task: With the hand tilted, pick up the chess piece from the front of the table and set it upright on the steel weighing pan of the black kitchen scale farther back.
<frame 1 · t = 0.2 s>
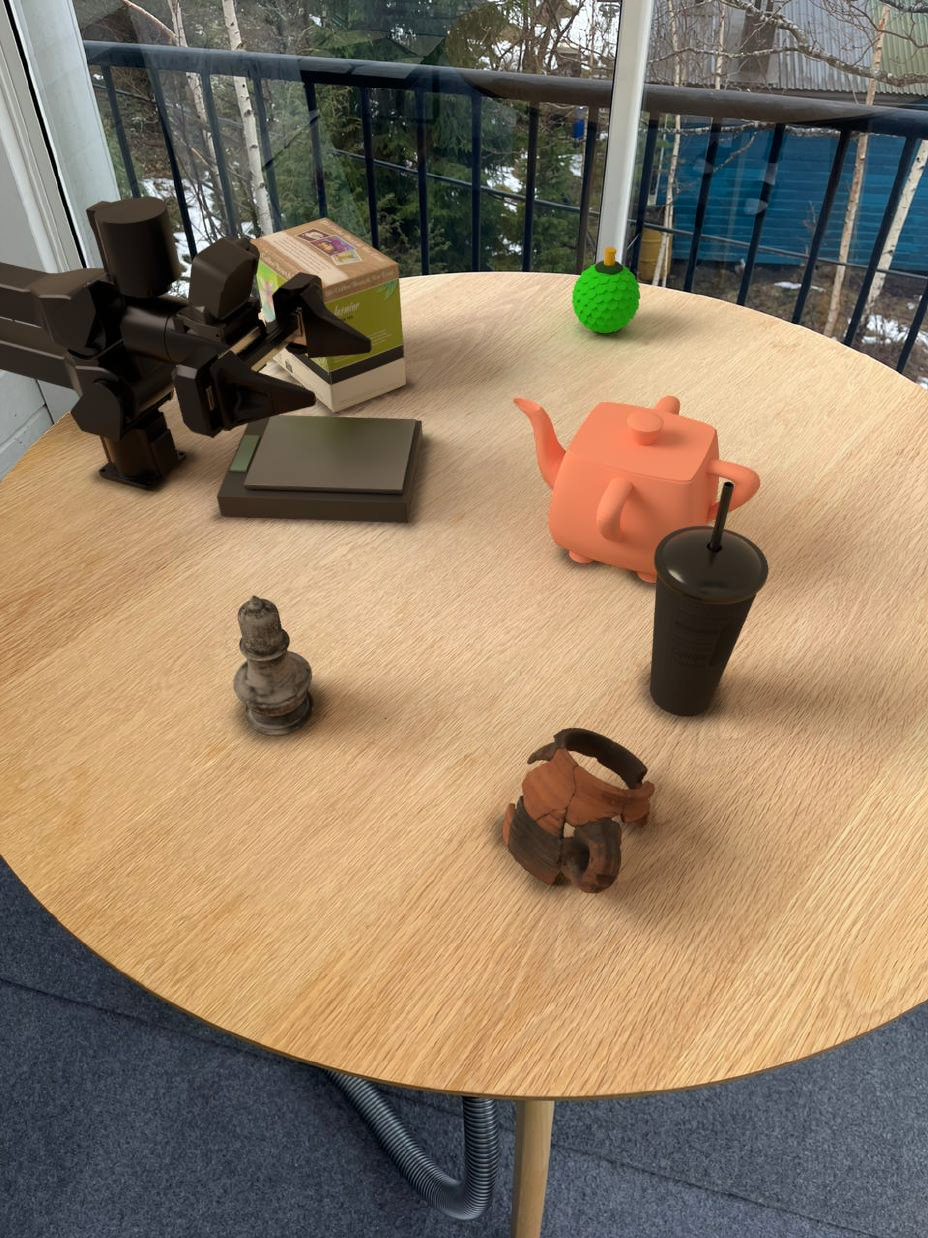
hand: (343, 371, 77), 17 cm above the table, tool horizontal, fingers open, 9 cm apart
pottery mug: (577, 843, 64), on the table
drinking cup: (680, 694, 74), on the table
chess piece: (280, 710, 73), on the table
scale: (326, 476, 94), on the table
tea box: (337, 375, 109), on the table
teapot: (619, 541, 87), on the table
scale pan: (333, 452, 92), point 3 cm above the table, slide at 0.0 cm
ornament: (602, 331, 116), on the table
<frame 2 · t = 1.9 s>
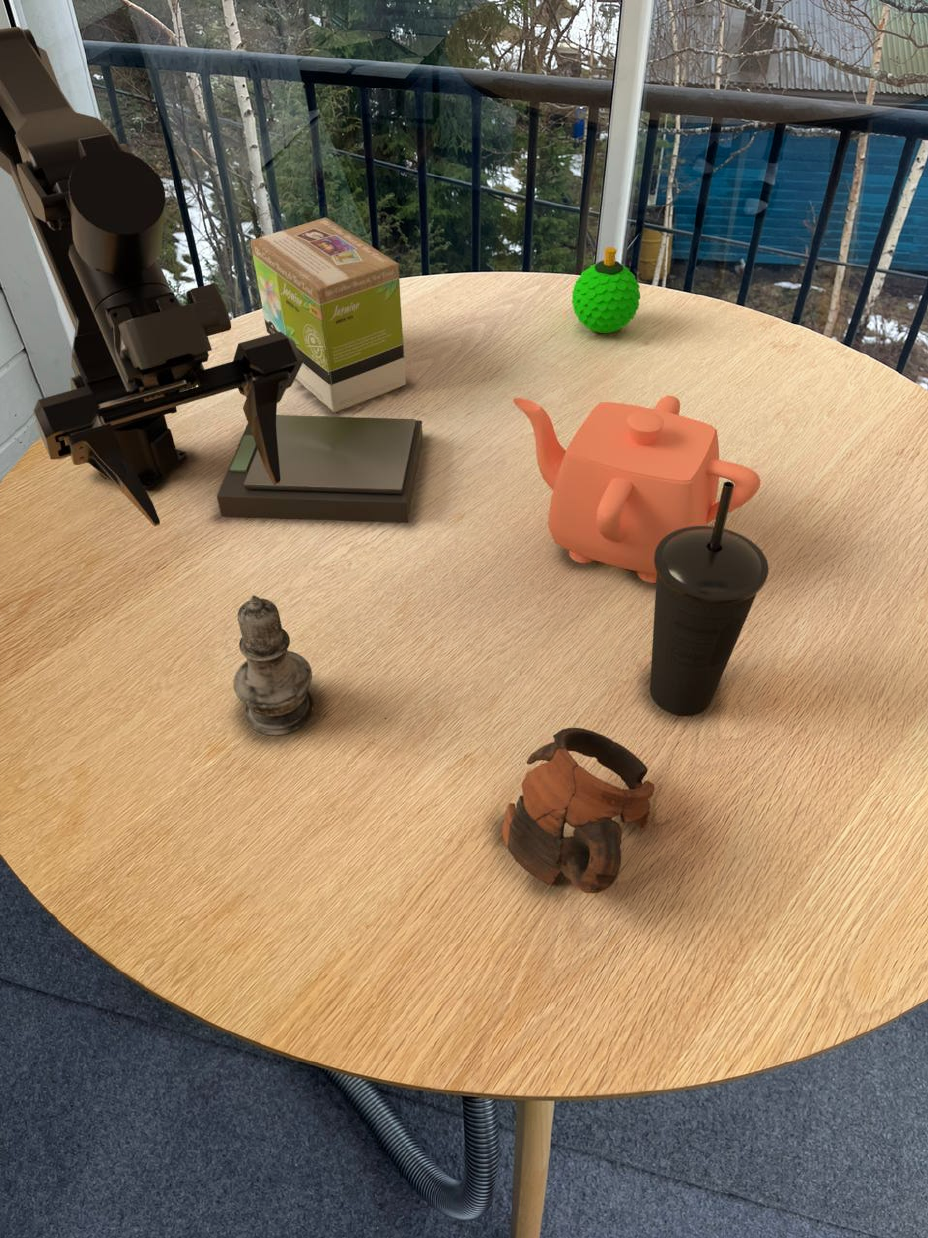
hand: (218, 503, 68), 14 cm above the table, tool tilted 45°, fingers open, 9 cm apart
nothing on the table moved.
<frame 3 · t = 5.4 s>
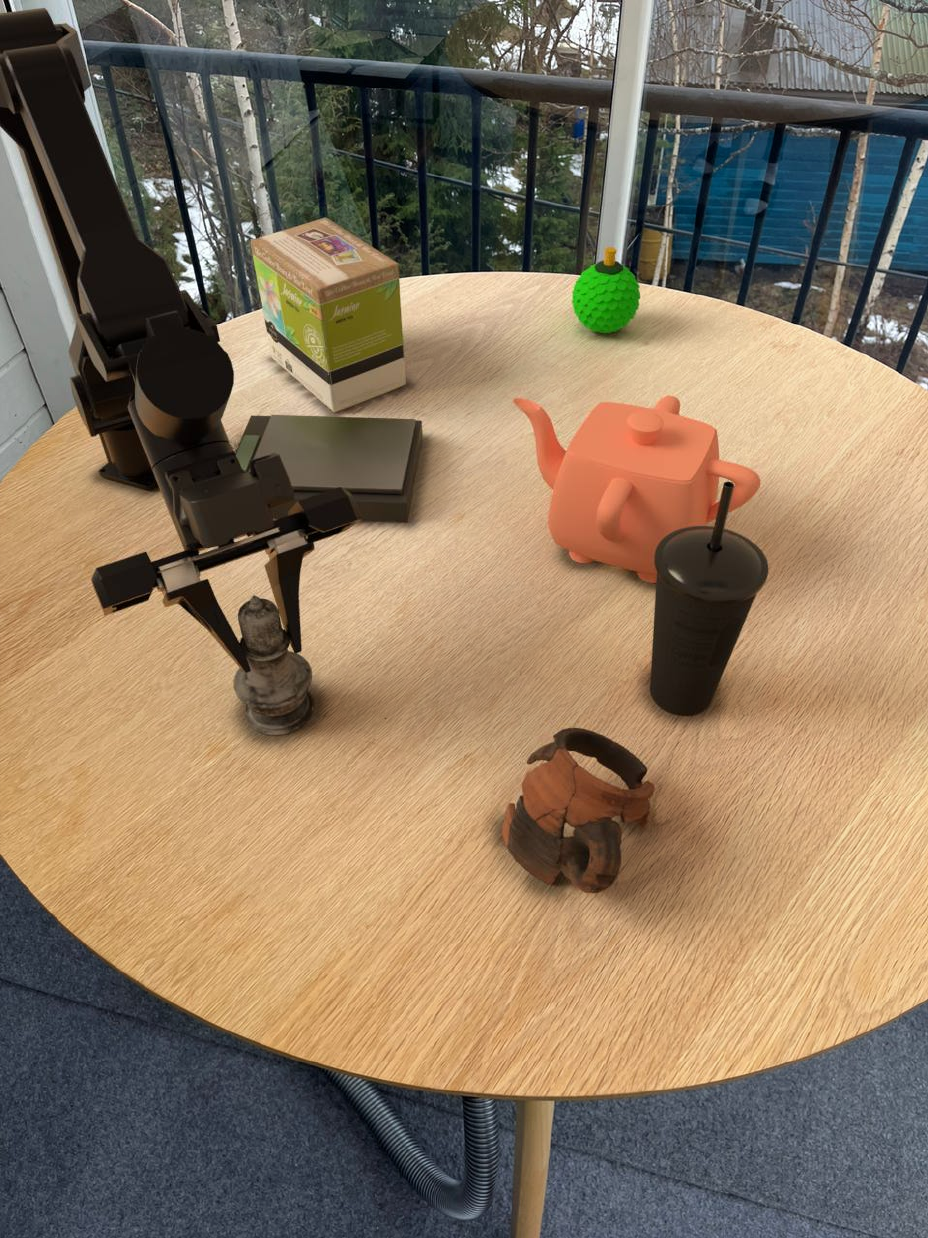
hand: (273, 662, 67), 7 cm above the table, tool tilted 45°, fingers closed on chess piece, 3 cm apart
chess piece: (280, 710, 73), on the table, touching gripper
everything else where it was.
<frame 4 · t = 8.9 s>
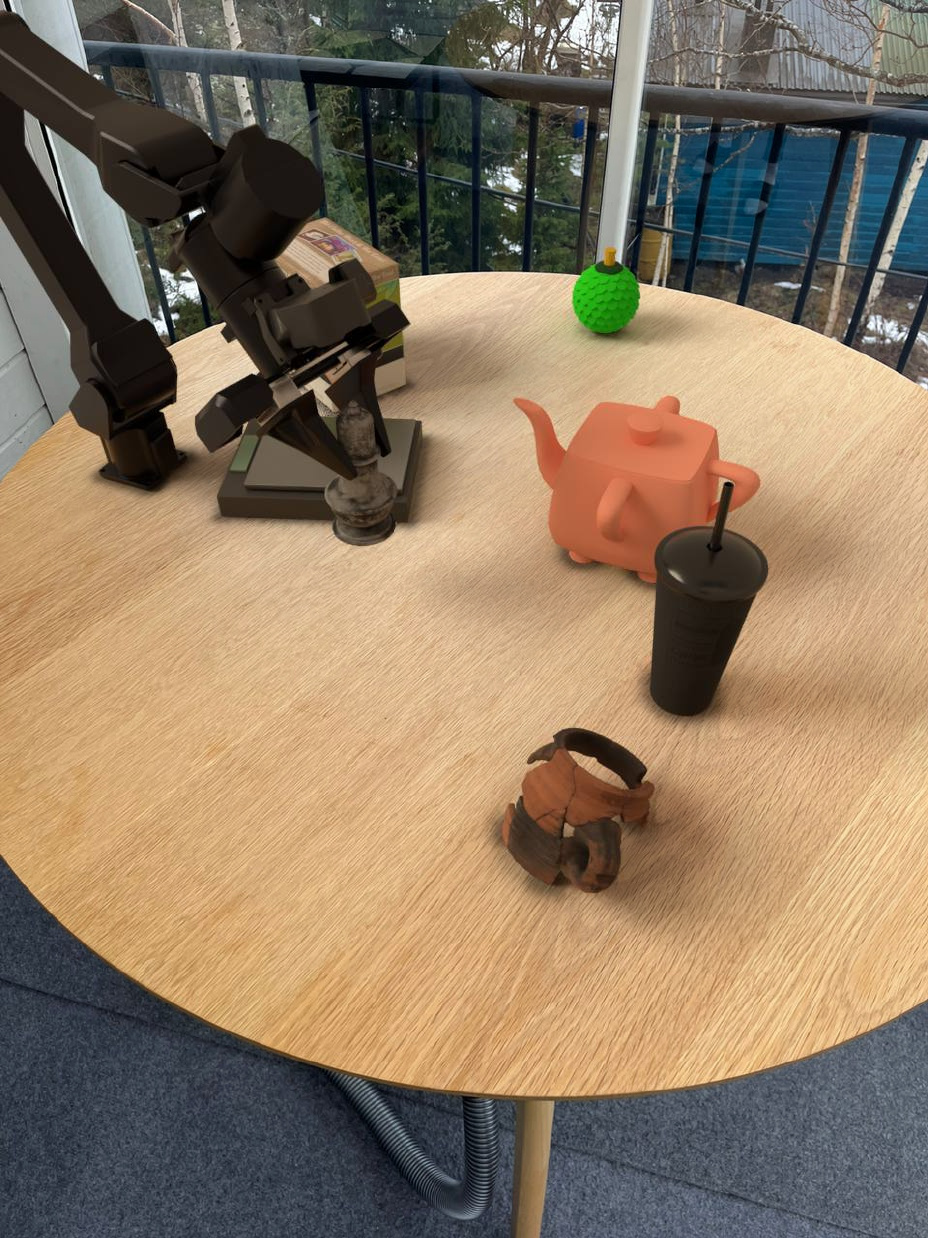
hand: (371, 466, 73), 13 cm above the table, tool tilted 45°, fingers closed on chess piece, 3 cm apart
chess piece: (364, 527, 78), point 7 cm above the table, touching gripper
everything else where it was.
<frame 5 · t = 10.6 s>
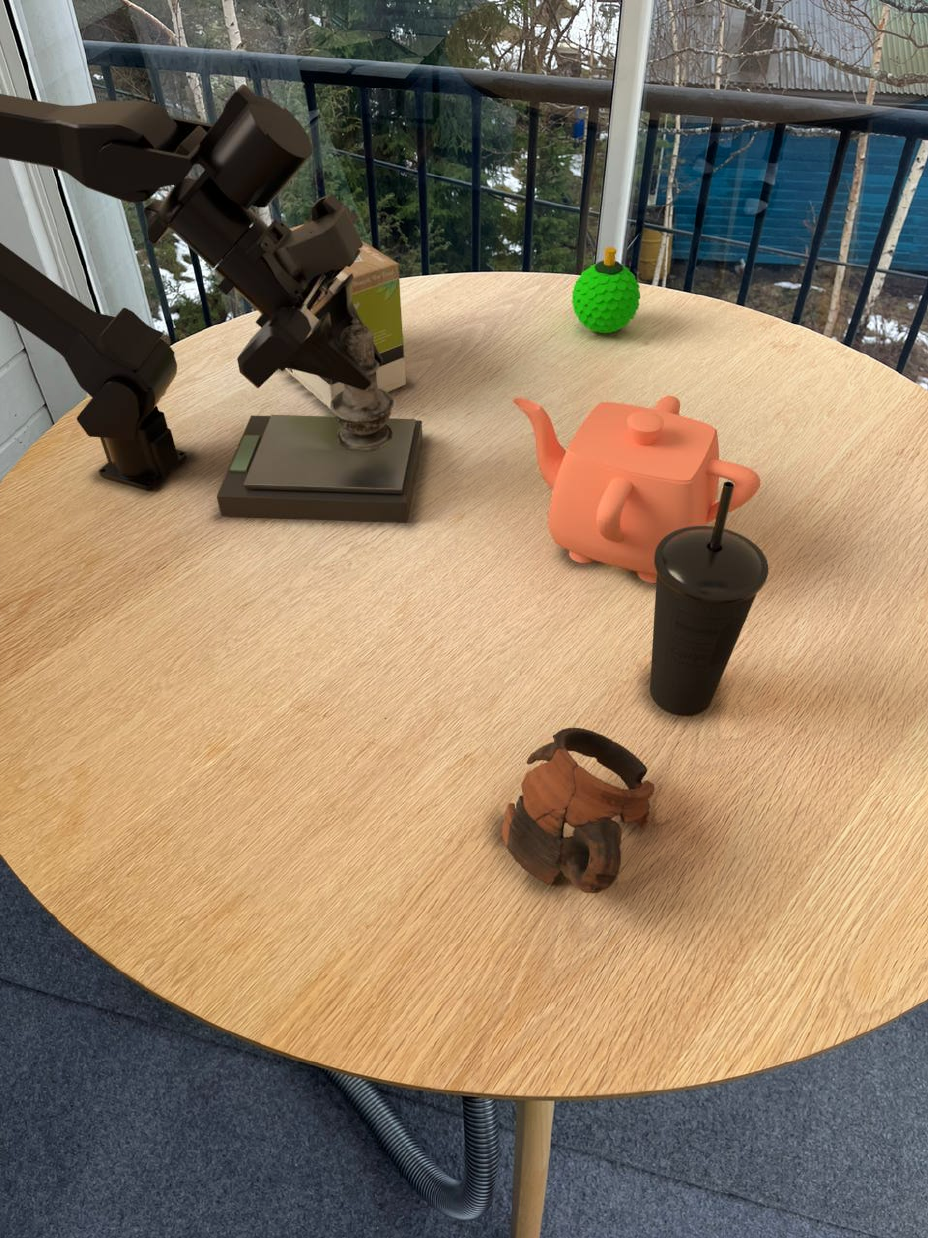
hand: (374, 375, 84), 12 cm above the table, tool tilted 45°, fingers closed on chess piece, 3 cm apart
chess piece: (365, 437, 89), point 6 cm above the table, touching gripper
everything else where it was.
when the fingers open (10 cm above the table, at t = 12.4 s): chess piece stays where it is, resting on scale pan.
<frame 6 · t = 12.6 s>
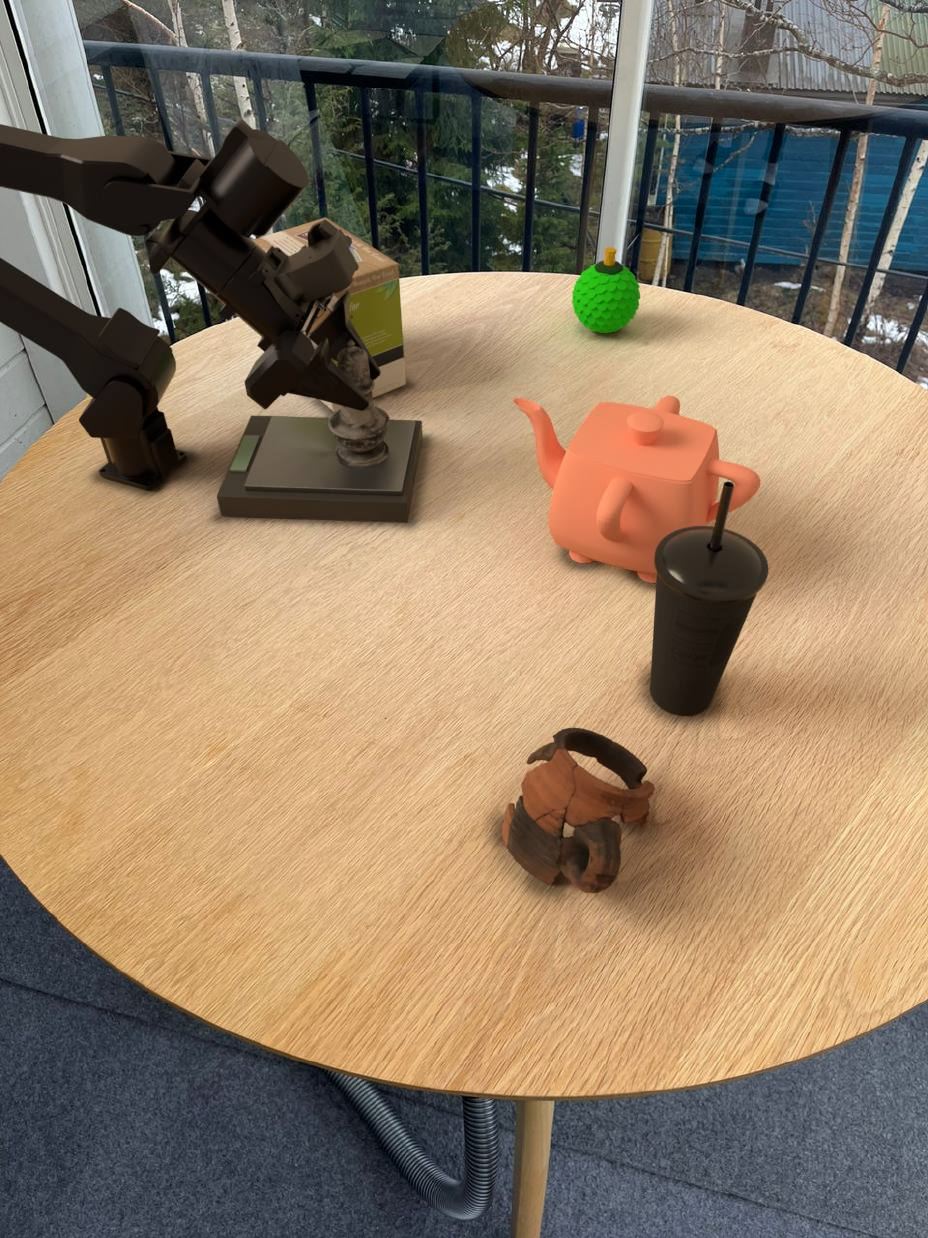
hand: (372, 391, 87), 10 cm above the table, tool tilted 45°, fingers open, 5 cm apart
chess piece: (362, 453, 92), point 3 cm above the table, touching scale pan
scale pan: (333, 454, 93), point 3 cm above the table, slide at -0.2 cm, touching chess piece, scale
everything else where it was.
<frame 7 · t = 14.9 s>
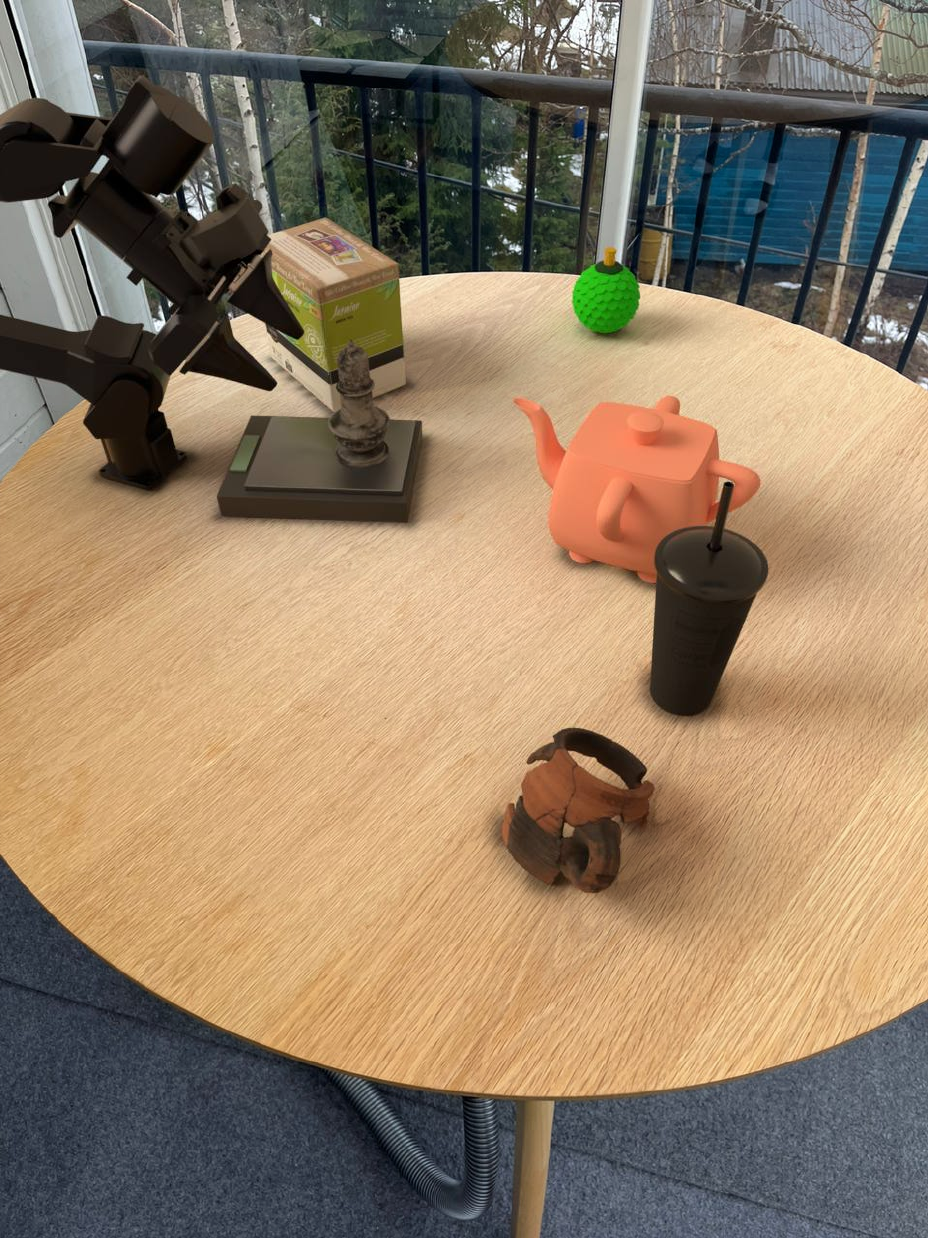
hand: (288, 360, 86), 13 cm above the table, tool tilted 45°, fingers open, 9 cm apart
nothing on the table moved.
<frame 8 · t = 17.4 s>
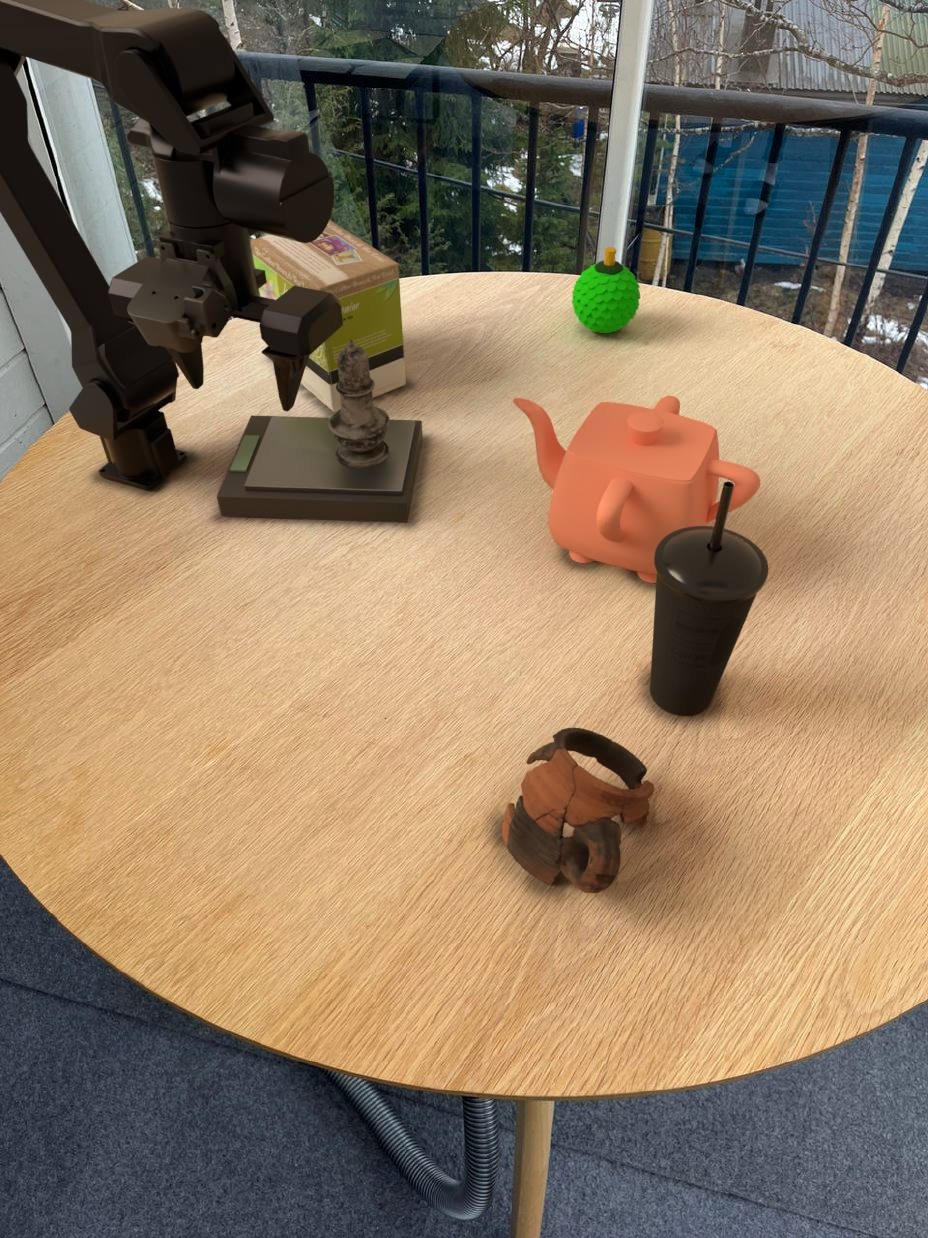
hand: (242, 397, 81), 13 cm above the table, tool pointing down, fingers open, 9 cm apart
nothing on the table moved.
at the end: chess piece inside the target area on the scale (0.7 cm from its centre), point 2.8 cm above the scale's base; chess piece tilted 0°; chess piece touching scale pan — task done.
